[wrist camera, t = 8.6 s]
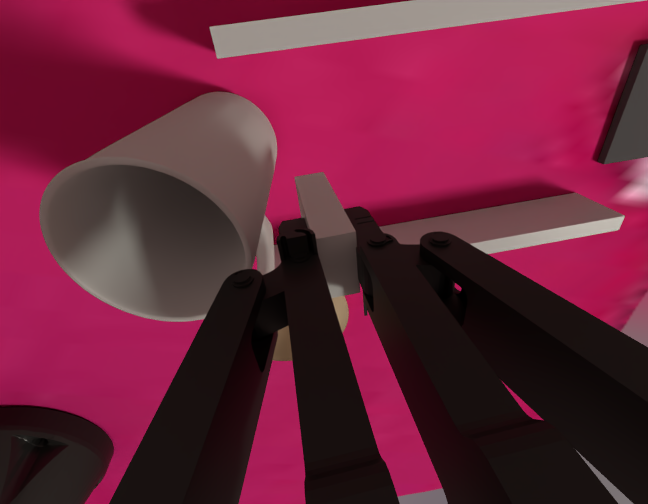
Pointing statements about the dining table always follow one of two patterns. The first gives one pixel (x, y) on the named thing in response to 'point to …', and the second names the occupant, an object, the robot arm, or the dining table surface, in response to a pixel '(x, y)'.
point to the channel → (418, 15)
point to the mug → (168, 209)
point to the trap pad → (630, 117)
